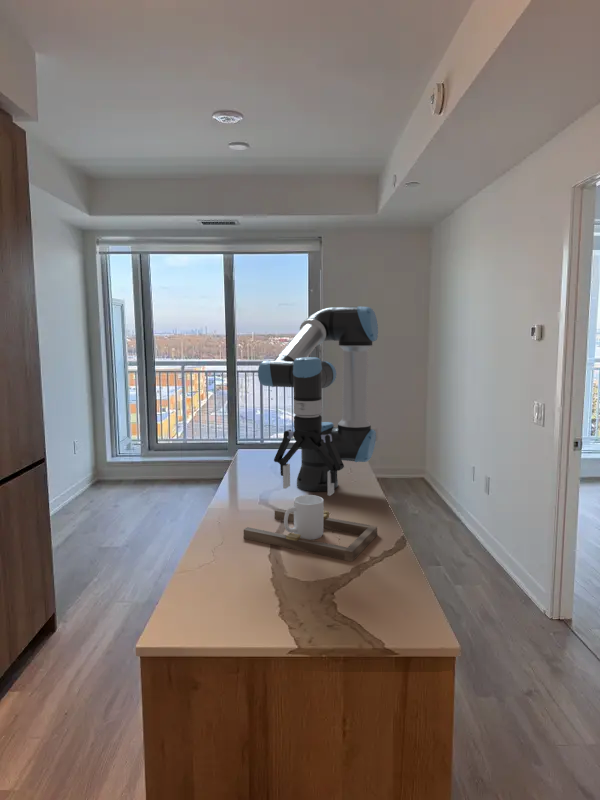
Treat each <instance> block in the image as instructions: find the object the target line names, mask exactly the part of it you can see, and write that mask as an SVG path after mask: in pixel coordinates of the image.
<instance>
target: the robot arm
mask: <svg viewBox="0 0 600 800" xmlns="http://www.w3.org/2000/svg"><path fill="white" fill-rule="evenodd" d="M378 326H379V325H378V320H377V316H376V313H375V310H374V309H373V308H371V307H370V306H361V305H359V306H358V305H357V306H336V307H335V306H329V307H325V308H322V309H320V310H318V311H316V312H313V314H311V315H309V316H308V317H307V318H305V320H303V322H302V323H301V325H300V327H299V331H298V332H297V333H296V335H295V336H294V337H293V338H292V339H291V340H290V341H289V343H287V344H286V346H285V347H284V348H283V349H282V350H281V352H280V353H279V354H278V355H277V356H276V357H275V358H274V360H264V361H261V362H260V363H259V365H258V369H257V377H258V381H259V383H260V384H261V386H263V387H272V388H275V387H276V388H278V387H279V388H293V414H294V416H293V429H294V431H292V430H291V429H287V430H285V431H283V439H282V441H281V443H280V445H279V448H278V450H277V451H276V454H275V456H274V458H273V461H274V463H278V464H279V466H280V469H279V470H280V476H282V487H283V488H282V489H288V488H289V487H291V463H289V461H290V459H292V457H293V456H294V454H296V452H297V451H298V450H299V449H300V448H301V449H300V450H301V466H300V469H299V471H298V474H297V479H296V487H297V488H299V489H301V490H303V491H306V492H327V496H329V497H330V496H332V495H333V494H335V489H337V488H338V485H339V479H338V471H339V472H340V471H341V470H343V469H344V468H345V465H344V463H343V462H344V461H346V462H355V463H367V462H369V461H370V459H371V458H372V456H373V454H374V450H375V447H376V439H377V431H376V430H374V429H373V428H372V424H371V422H370V421H369V420H368V417H367V413H368V371H369V370H368V367H369V365H368V361H369V351H370V349H372V347H373V342H375V341H377V340H378V337H379V336H378V334H379V327H378ZM327 341H328V342H329V341H333V342H334V341H336V342H337V341H338V347H339V348H340V349H341V350H342V400H341V401H342V406H341V407H342V410H341V411H342V414H341V415H342V417H341V419H340V421H338V423H337V426H336V427H335V425H334V422H331V421H322V416H321V414H322V413H323V412H322V409H323V408H322V399H323V398H322V389H325V388H328V387H330V386H331V385H332V384H333V383H334V382H335V381H336V379H337V371H336V370H337V369H336V368H335V367H336V366H334V365H333V364H332V363H331V362H329V361H327V360H322V359H320V358H319V357H316V356H315V357H314V356H310V355H311V354H312V352H313V351H314V350H315V348H316V347H317V346H320V345H322V344H323V342H327ZM309 356H310V357H309ZM292 439H294V440H295V442H294V444H292V446H291V447H290V449H289V450H288V451H287V452H286V450H287V449H288V447H289V445H290V442H291V441H292ZM285 452H286V453H285Z"/></svg>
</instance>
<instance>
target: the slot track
mask: <svg viewBox="0 0 600 800" xmlns="http://www.w3.org/2000/svg"><path fill="white" fill-rule="evenodd" d="M286 511H287V509H282V508H277V509H275V510H274V519H276V520H279V521H284V516H285V512H286ZM288 522H291V523H294V512H290V513H289V516H288ZM323 529H329V530H333V531H339V532H344V533H349V534H354V535H358V537H357V538H355V540H354V541H353V542H352V543H351V544H350V545H348V546H342V545H336V544H333V543H327V542H321V541H317V540H308V539H304V538H301V535H300V534H295V533H291V532H288V534H284V533H279V532H273V531H268V530H264V529H263V530H262V529H259V528H253V527H248V526H247V527H245V528H243V539H246V540H250V541H254V542H259V543H264V544H269V545H273V546H277V547H283V548H288V549H292V550H297V551H302V552H307V553H311V554H315V555H321V556H325V557H329V558H334V559H339V560H343V561H347V562H354V560H355V559H356V558H357V557H358V556H359V555H360V554H361V553H362V552H363V551H364V549H366V547H368V546H369V544H370V543H371V542H373V540H374V539H375V538H376V537H377V536H378V526H377V525H371V524H365V523H360V522H355V521H350V520H344V519H343V520H342V519H337V518H332V517H330V511H328V510H324V519H323Z"/></svg>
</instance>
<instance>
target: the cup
mask: <svg viewBox="0 0 600 800" xmlns="http://www.w3.org/2000/svg"><path fill="white" fill-rule="evenodd" d="M324 509H325V508H324V498H323V497H321V496H319V495H315V494H314V495H313V494H303V495H298V496H295V497H294V498H293V506H291V507H288V508H287V509H286V510H287V511H286V512H285V516H284V520H283V525H284V526H283V527H284V528H285V530H286V531H287V532H288V533H295V534H300V535H301V538H304V539H308V540H313V541H315V540H317V539H320V538H321V537H323V534H324V528H323V519H324V511H325V510H324ZM290 512H294V522H293V527H290V526H289V521H288V516H289V513H290Z"/></svg>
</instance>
